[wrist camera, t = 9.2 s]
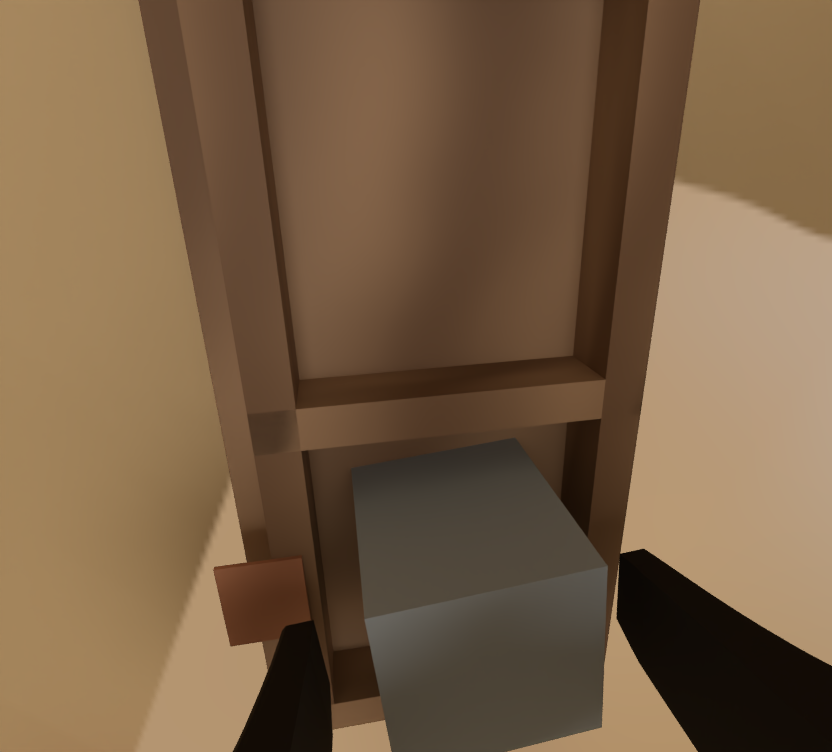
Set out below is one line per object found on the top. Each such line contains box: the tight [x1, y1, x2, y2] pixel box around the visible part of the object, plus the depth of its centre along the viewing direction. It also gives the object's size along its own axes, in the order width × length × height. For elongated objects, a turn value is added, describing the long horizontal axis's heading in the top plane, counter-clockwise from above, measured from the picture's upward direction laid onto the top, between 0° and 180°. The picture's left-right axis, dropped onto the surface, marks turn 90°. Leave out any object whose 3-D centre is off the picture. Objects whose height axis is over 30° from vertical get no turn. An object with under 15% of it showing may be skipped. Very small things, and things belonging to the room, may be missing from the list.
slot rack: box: [139, 0, 700, 730], centre depth 13 cm, size 11×20×3 cm, turn 2°
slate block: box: [351, 438, 608, 752], centre depth 12 cm, size 4×4×5 cm
